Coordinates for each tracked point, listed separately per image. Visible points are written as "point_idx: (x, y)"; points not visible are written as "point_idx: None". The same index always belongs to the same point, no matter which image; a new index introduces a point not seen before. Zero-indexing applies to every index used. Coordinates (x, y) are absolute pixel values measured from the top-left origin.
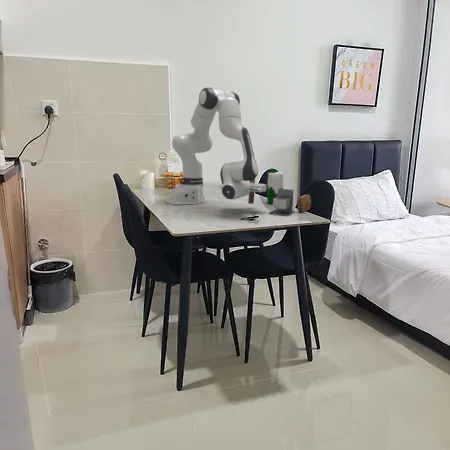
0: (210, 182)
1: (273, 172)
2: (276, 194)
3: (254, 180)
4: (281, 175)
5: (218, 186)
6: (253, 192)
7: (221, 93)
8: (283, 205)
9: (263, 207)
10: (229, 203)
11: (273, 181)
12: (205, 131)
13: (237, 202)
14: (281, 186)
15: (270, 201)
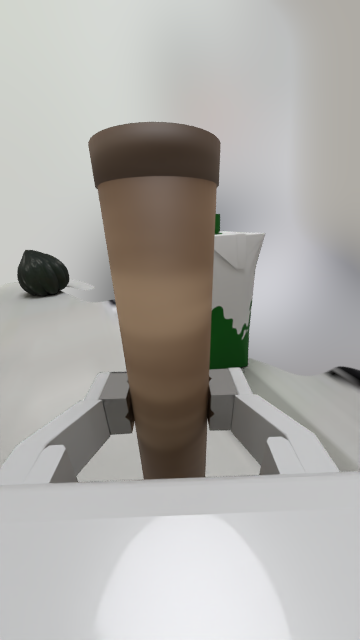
0: (6, 284)
1: (215, 231)
2: (239, 334)
3: (209, 344)
4: (261, 242)
5: (18, 294)
6: (203, 471)
7: None
8: None
9: (234, 454)
10: (3, 459)
11: (227, 279)
12: None
13: (59, 410)
14: (252, 294)
15: (213, 365)
